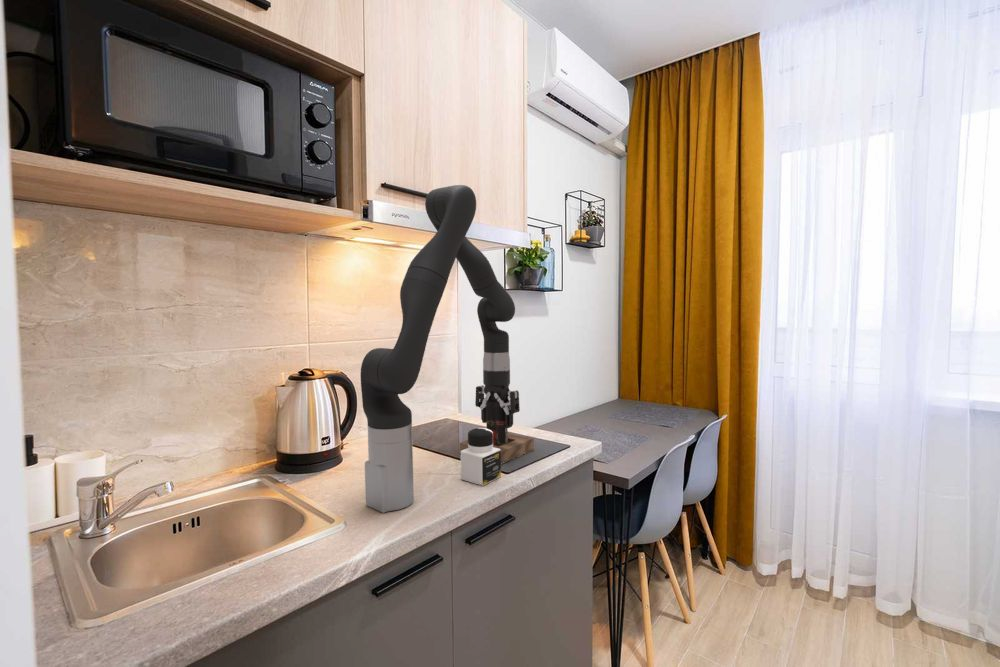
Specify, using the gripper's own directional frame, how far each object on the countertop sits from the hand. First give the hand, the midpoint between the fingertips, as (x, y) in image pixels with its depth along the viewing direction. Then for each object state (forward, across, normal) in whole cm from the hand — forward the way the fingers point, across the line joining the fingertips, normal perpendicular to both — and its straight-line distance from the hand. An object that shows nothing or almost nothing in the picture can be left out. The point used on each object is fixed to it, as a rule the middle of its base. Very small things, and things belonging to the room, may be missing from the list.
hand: (497, 424), depth 132 cm
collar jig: (+8, 0, 0) cm, 8 cm away
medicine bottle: (+8, +9, -17) cm, 21 cm away
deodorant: (+8, 0, 0) cm, 8 cm away
